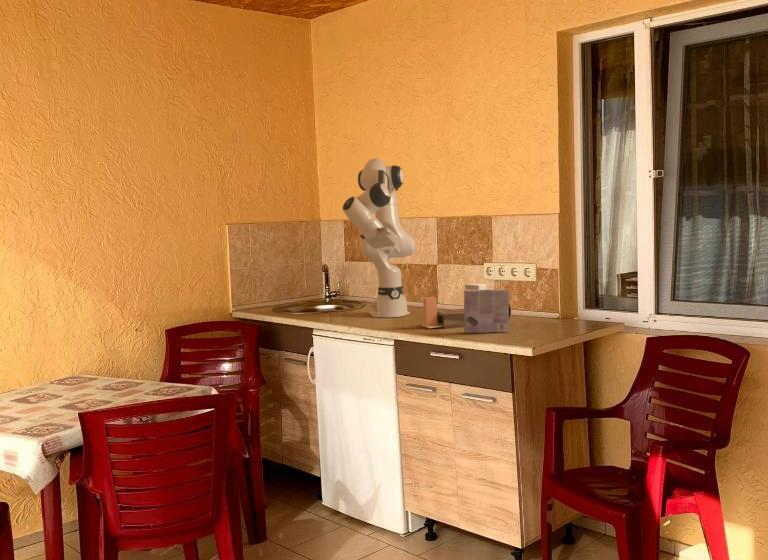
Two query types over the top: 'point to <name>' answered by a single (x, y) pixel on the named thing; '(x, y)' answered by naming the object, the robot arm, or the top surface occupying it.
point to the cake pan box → (486, 311)
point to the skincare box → (475, 286)
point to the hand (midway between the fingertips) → (394, 252)
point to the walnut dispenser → (451, 318)
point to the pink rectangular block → (430, 313)
